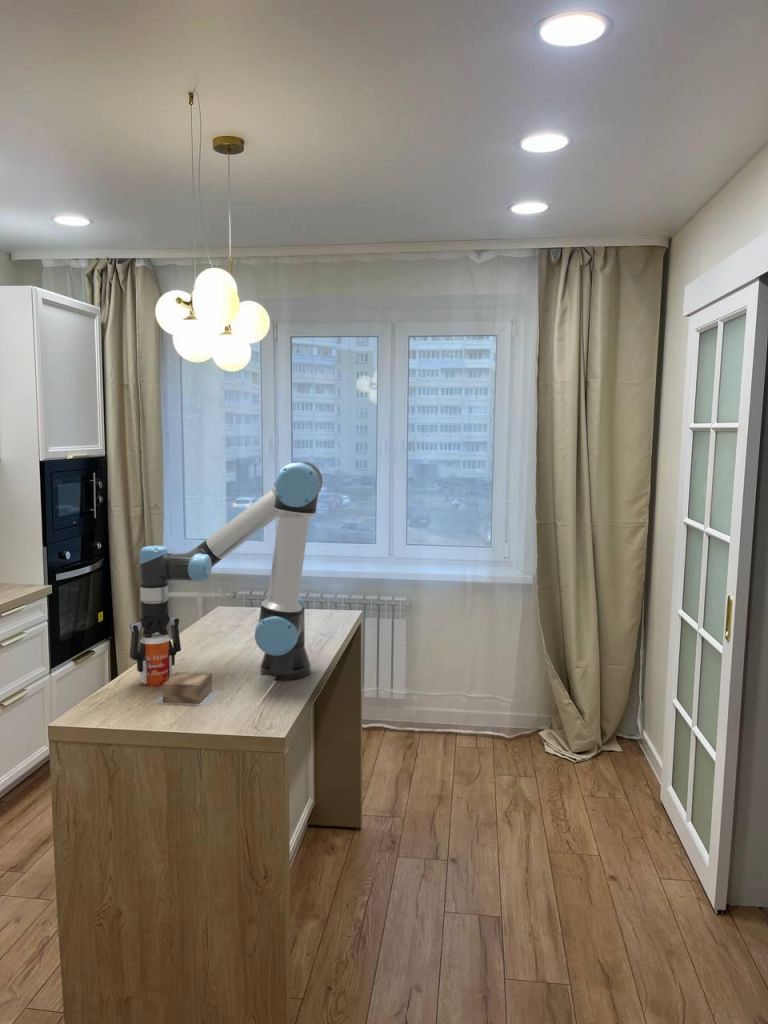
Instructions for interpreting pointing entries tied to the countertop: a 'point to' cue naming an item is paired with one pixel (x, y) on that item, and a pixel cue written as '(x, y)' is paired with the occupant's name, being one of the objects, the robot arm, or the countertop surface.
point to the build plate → (204, 702)
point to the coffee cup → (156, 658)
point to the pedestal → (187, 688)
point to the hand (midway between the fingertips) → (156, 679)
